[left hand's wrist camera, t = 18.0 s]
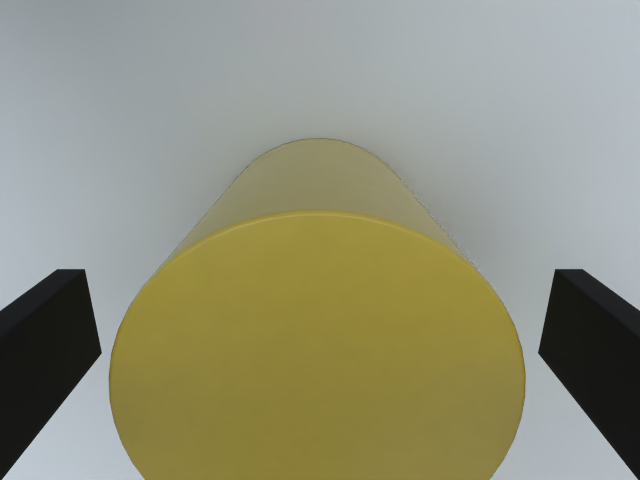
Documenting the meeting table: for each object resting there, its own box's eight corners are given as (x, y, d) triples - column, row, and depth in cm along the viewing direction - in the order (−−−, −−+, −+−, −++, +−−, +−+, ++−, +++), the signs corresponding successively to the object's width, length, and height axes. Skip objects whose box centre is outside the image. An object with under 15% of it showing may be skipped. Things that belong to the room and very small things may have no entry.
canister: (346, 94, 18) (386, 110, 7) (451, 261, 20) (594, 452, 10) (179, 213, 19) (15, 365, 9) (294, 354, 22) (273, 603, 11)
